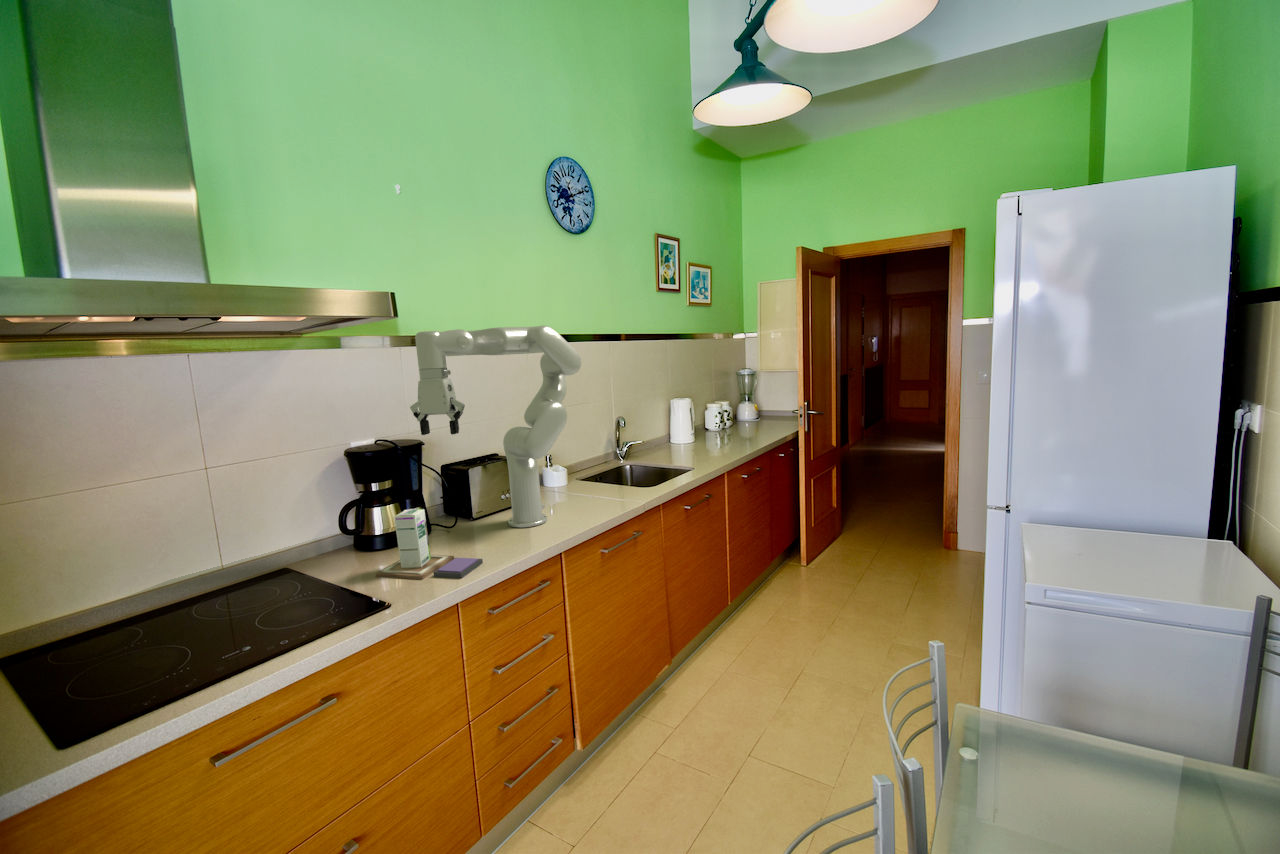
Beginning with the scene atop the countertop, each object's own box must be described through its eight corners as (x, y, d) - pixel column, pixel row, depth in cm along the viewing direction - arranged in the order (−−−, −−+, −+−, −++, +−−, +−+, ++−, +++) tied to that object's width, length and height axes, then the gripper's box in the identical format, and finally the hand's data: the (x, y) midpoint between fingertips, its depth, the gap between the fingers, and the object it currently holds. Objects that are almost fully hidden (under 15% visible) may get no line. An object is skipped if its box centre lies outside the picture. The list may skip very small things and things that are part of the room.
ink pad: (433, 576, 142) (433, 571, 142) (456, 561, 152) (455, 556, 151) (461, 578, 140) (461, 572, 140) (482, 563, 149) (482, 557, 149)
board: (410, 556, 158) (410, 552, 158) (454, 558, 154) (453, 554, 154) (375, 576, 144) (375, 572, 144) (422, 579, 141) (421, 575, 140)
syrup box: (421, 567, 146) (415, 514, 144) (400, 568, 147) (393, 515, 145) (431, 559, 152) (425, 508, 150) (410, 560, 152) (404, 508, 150)
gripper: (467, 372, 161) (473, 431, 163) (415, 375, 165) (422, 432, 168) (452, 374, 154) (459, 435, 156) (399, 377, 158) (406, 436, 161)
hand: (440, 434), depth 162 cm, fingers open, 9 cm apart
